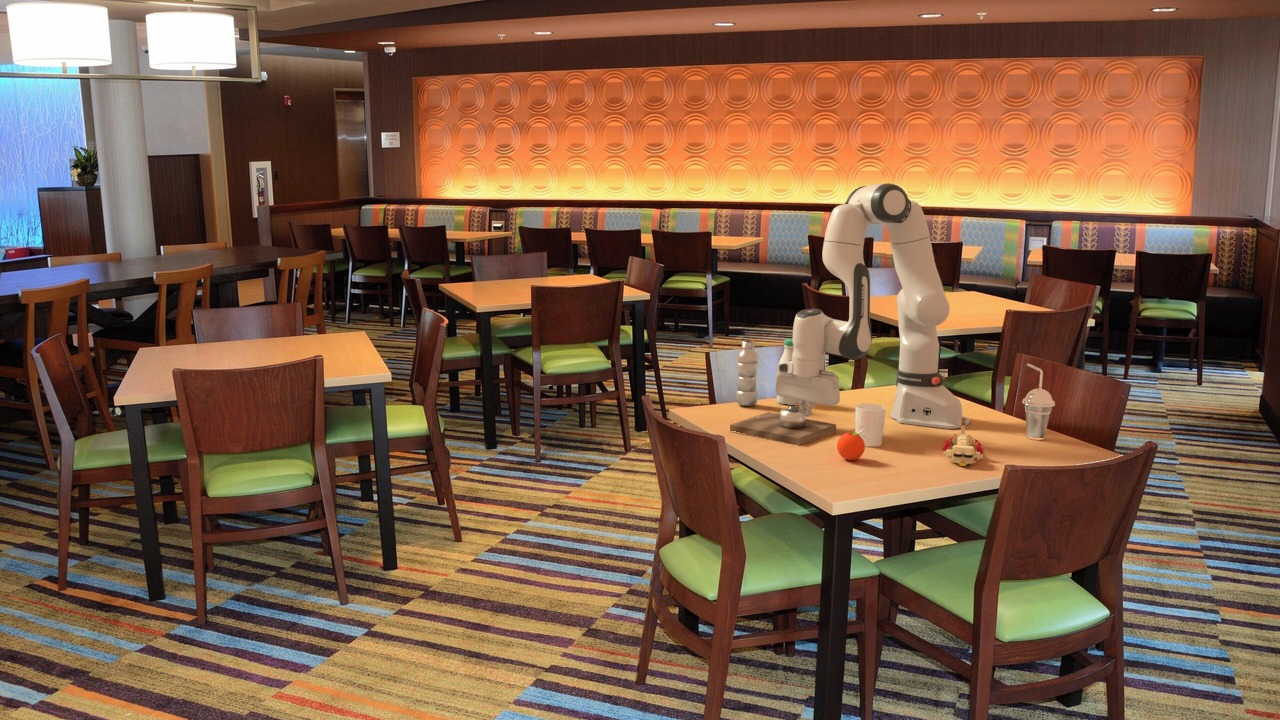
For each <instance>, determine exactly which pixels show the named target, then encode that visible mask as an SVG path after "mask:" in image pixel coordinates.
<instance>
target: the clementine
mask: <svg viewBox="0 0 1280 720" xmlns="http://www.w3.org/2000/svg"><path fill="white" fill-rule="evenodd" d="M859 435H862V434H859V433H856V432H846V433H844V434H842V435H841V436H840V437H839V439H838V441H837V444H836V449H837V452H838V454H839V456H840V457H841V458H843V459H845V460H847V461H855V460H858V459H860V458H861V457H862V456H863V455H864V452H865V450H866V446H865V443H864V441H863V439H862V437H860V436H859ZM862 436H863V435H862ZM864 437H865V436H864ZM867 440H868V439H867ZM868 442H869V441H868Z"/></svg>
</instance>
